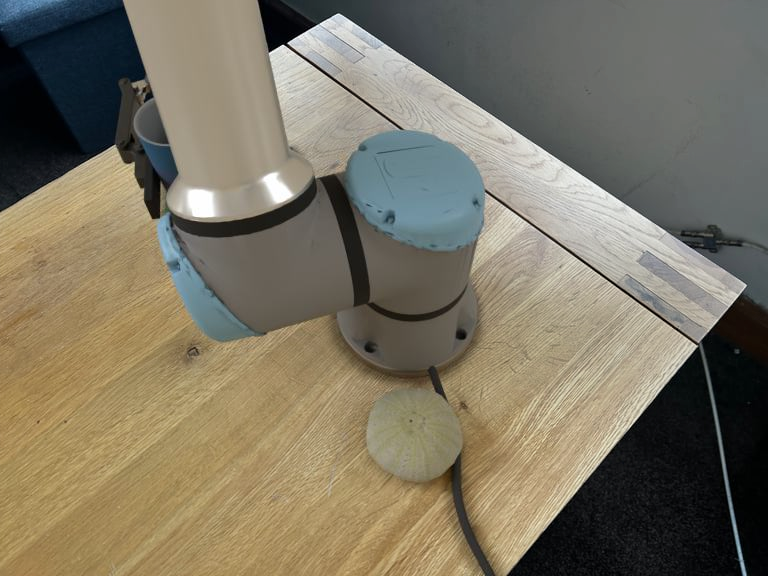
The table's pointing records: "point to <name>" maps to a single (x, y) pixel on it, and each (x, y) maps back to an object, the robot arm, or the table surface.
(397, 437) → the sea urchin shell
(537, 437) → the table surface
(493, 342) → the table surface
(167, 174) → the cup
